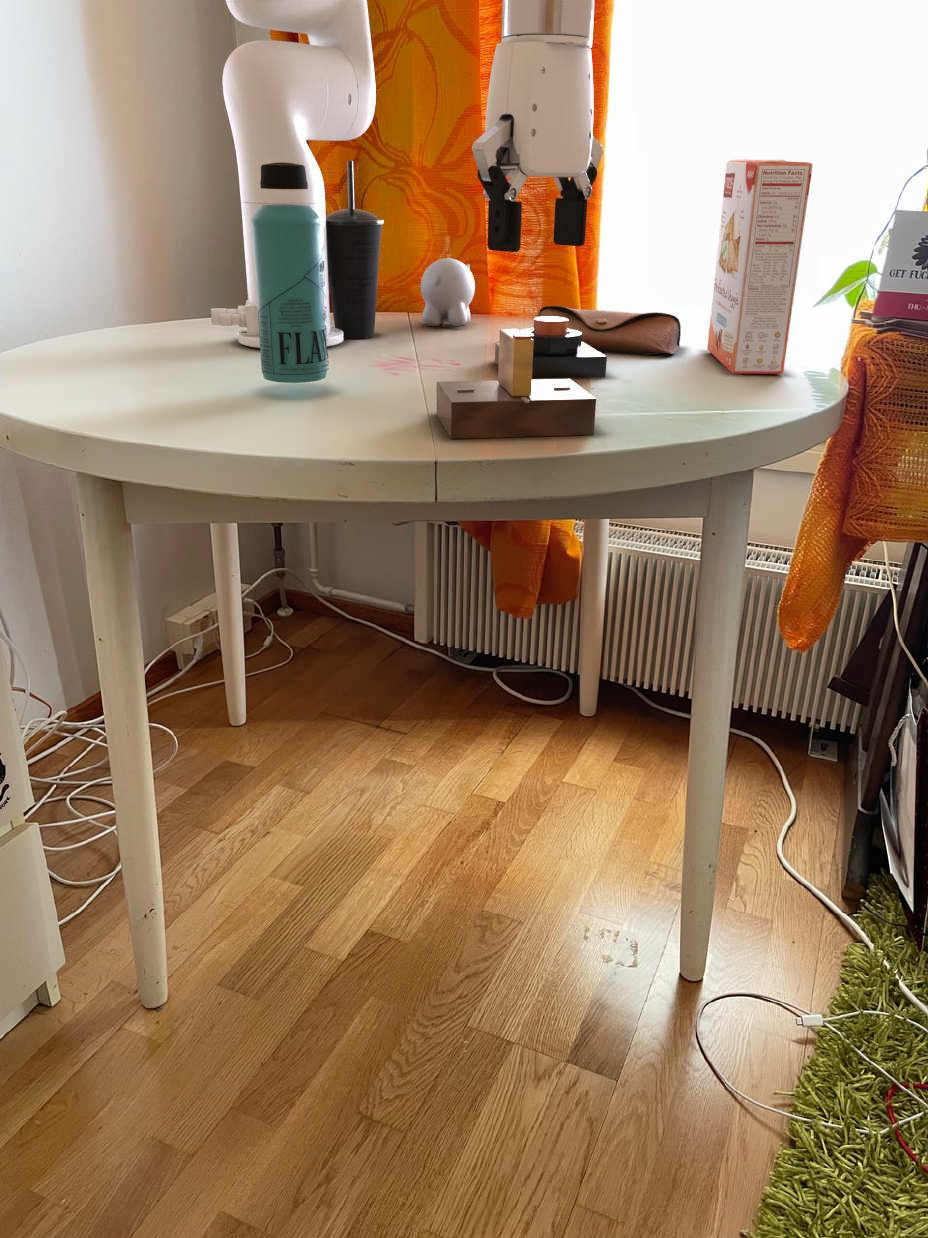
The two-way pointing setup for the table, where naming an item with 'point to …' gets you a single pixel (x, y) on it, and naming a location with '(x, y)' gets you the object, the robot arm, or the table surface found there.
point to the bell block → (563, 357)
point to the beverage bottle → (289, 282)
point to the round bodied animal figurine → (447, 293)
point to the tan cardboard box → (515, 362)
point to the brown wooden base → (514, 409)
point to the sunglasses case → (622, 330)
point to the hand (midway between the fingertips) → (537, 247)
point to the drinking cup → (353, 266)
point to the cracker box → (757, 263)
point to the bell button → (550, 326)
